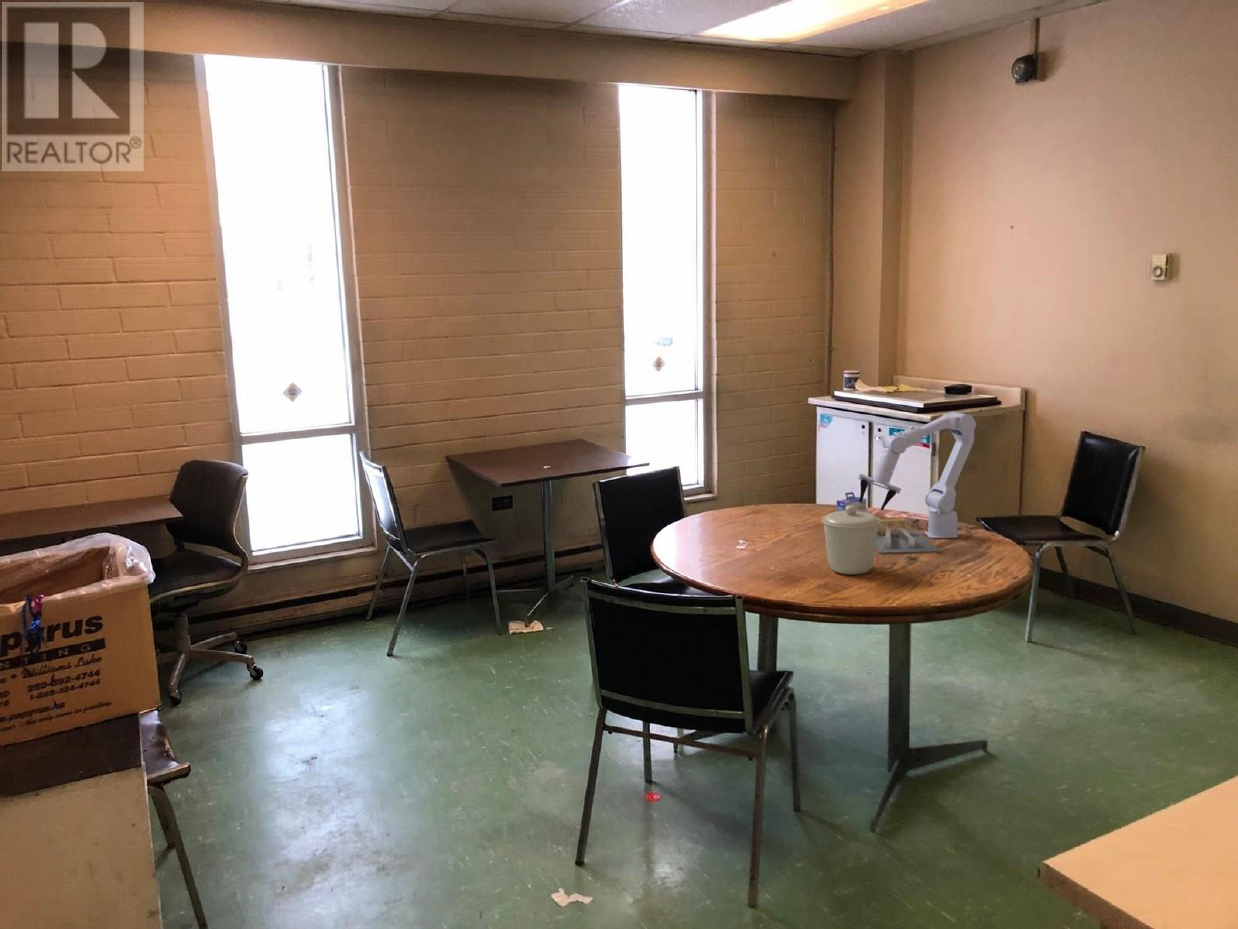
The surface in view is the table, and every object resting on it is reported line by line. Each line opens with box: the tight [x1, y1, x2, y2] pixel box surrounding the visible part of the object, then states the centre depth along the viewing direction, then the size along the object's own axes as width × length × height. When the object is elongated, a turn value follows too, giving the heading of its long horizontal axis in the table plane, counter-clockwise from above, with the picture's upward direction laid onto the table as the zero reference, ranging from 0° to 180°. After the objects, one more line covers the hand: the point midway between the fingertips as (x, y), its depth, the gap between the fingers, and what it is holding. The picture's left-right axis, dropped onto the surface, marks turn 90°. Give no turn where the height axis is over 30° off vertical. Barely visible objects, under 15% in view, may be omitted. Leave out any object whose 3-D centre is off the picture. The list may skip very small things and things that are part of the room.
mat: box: [875, 530, 941, 555], centre depth 337 cm, size 20×26×1 cm
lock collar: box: [878, 518, 906, 535], centre depth 346 cm, size 8×3×5 cm, turn 89°
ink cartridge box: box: [836, 491, 867, 513], centre depth 352 cm, size 10×6×14 cm, turn 115°
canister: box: [821, 505, 881, 576], centre depth 306 cm, size 18×18×21 cm
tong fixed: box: [897, 526, 915, 548], centre depth 336 cm, size 2×16×3 cm, turn 179°
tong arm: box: [884, 526, 892, 548], centre depth 336 cm, size 2×16×3 cm, turn 164°
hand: (870, 506), depth 336 cm, fingers open, 7 cm apart
